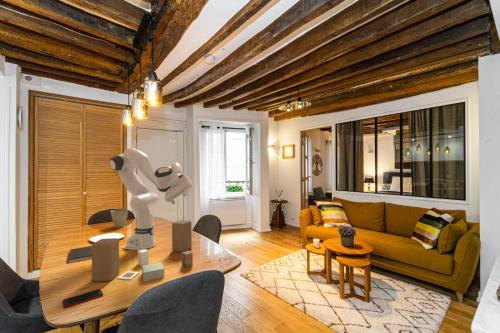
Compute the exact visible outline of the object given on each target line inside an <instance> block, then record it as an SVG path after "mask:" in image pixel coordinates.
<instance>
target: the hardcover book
mask: <svg viewBox="0 0 500 333" xmlns="http://www.w3.org/2000/svg"><path fill="white" fill-rule="evenodd" d="M86 260H92V245H89V246H83V247H77V248H76V247H75V248H71V249H69V254H68V258H67V264H69V263H75V262H80V261H86Z"/></svg>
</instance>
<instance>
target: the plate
mask: <svg viewBox="0 0 500 333" xmlns="http://www.w3.org/2000/svg"><path fill="white" fill-rule="evenodd" d="M125 237H126V236H125V235H124V234H122V233H117V232H110V233H105V234H99V235H96V236H92V237H90V238H88V240H89V241H90V242H92V243H95V242H97V241H98V240H100V239H106V238H118V239H119V240H120V239H124V238H125Z"/></svg>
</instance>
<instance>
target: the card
mask: <svg viewBox="0 0 500 333" xmlns="http://www.w3.org/2000/svg"><path fill="white" fill-rule="evenodd" d="M140 273H141V272H140V271H130V270H128V271H124V272H123V273H121V275H119V276H117V278H116V280H127V281H128V280H129V281H131V280H133V279H134V278H136V277H137V276H138V275H139V274H140Z"/></svg>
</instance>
